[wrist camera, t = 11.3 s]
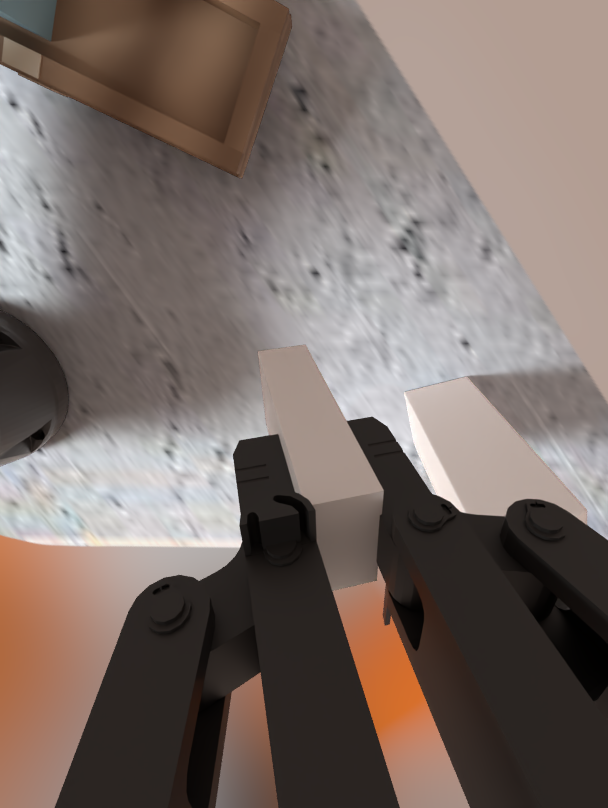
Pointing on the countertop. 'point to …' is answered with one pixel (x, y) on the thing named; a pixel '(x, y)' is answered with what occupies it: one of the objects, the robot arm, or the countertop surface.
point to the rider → (31, 15)
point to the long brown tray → (163, 67)
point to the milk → (479, 453)
